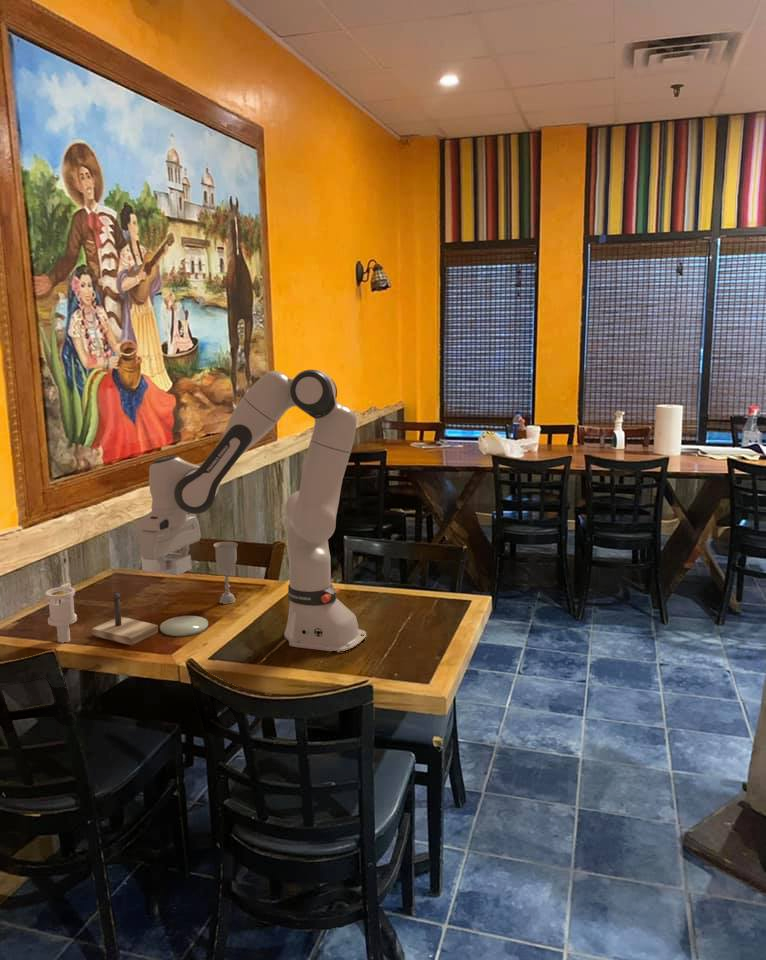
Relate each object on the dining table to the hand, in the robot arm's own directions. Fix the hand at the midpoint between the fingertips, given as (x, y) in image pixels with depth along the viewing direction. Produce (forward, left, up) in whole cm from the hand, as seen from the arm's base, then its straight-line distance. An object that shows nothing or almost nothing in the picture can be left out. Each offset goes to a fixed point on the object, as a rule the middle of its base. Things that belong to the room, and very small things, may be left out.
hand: (174, 566), depth 205 cm
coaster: (0, -3, -19) cm, 19 cm away
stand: (+11, +8, -19) cm, 23 cm away
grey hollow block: (+3, 0, -1) cm, 3 cm away
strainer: (+22, +19, -19) cm, 35 cm away
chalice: (+2, -25, -19) cm, 32 cm away
